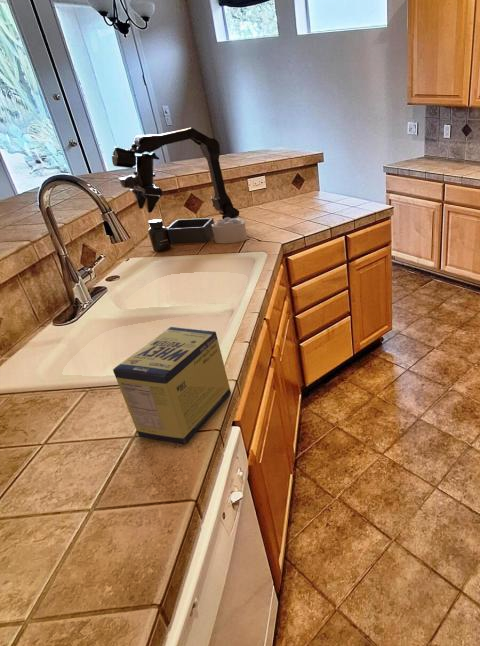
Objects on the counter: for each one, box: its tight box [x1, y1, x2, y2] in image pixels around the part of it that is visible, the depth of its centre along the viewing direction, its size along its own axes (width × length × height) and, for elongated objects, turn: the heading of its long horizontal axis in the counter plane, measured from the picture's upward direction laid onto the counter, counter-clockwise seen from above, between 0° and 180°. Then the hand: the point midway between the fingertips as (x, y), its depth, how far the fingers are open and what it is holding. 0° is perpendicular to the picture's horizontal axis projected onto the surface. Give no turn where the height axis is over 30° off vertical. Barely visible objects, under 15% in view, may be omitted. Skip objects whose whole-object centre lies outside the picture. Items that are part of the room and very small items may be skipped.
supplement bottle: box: [147, 219, 173, 253], centre depth 172 cm, size 7×7×12 cm
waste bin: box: [166, 217, 215, 245], centre depth 186 cm, size 16×15×7 cm
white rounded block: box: [212, 217, 248, 244], centre depth 183 cm, size 10×13×9 cm
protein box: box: [112, 326, 232, 445], centre depth 82 cm, size 10×16×16 cm
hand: (145, 210), depth 170 cm, fingers open, 9 cm apart
